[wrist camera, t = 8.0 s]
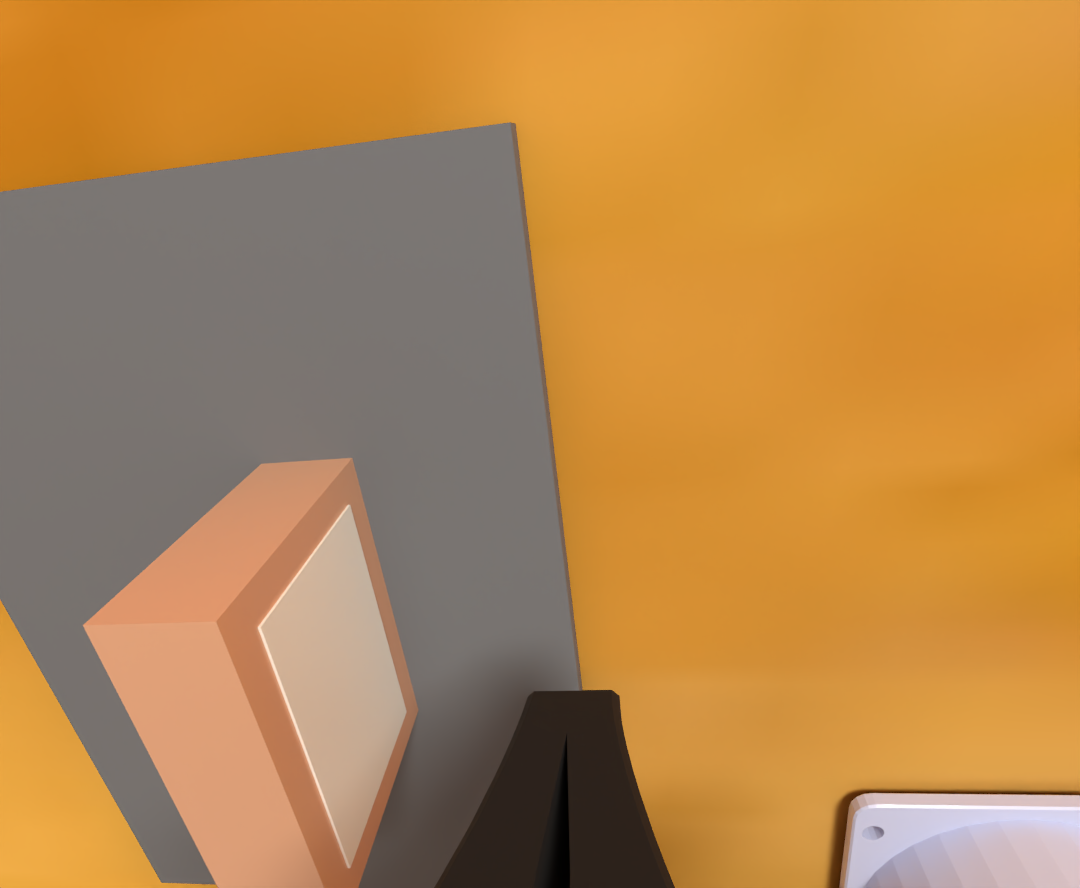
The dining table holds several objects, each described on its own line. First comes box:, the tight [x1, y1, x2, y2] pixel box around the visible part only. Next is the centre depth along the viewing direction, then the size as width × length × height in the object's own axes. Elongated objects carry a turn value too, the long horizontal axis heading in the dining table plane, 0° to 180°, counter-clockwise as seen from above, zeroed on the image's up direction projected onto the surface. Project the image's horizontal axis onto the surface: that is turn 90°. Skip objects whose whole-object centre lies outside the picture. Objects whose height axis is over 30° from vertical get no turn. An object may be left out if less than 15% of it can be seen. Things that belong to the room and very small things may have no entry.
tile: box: [83, 458, 418, 888], centre depth 12 cm, size 7×2×5 cm, turn 7°
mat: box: [0, 123, 582, 888], centre depth 15 cm, size 20×14×1 cm
